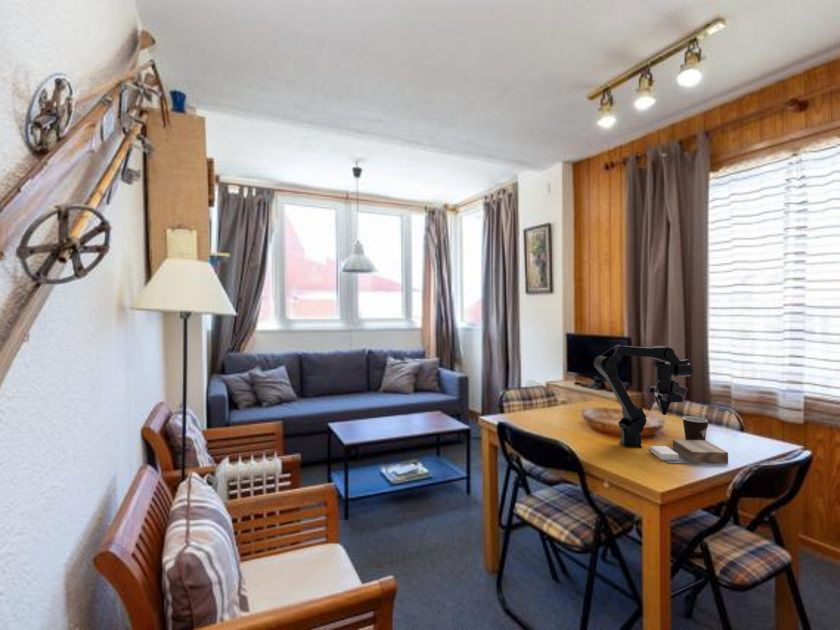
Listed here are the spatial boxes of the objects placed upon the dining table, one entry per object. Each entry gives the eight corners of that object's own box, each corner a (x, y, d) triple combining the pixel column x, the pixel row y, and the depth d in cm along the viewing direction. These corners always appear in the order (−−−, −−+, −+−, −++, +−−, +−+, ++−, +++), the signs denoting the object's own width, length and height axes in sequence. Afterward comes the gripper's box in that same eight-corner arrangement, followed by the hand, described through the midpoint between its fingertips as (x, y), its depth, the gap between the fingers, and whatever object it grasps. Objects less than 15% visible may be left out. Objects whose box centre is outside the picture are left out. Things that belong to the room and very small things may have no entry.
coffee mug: (690, 447, 168) (690, 422, 168) (678, 440, 176) (678, 416, 176) (720, 447, 167) (720, 422, 167) (706, 440, 176) (706, 416, 176)
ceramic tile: (678, 454, 154) (678, 459, 154) (666, 446, 163) (666, 451, 163) (661, 454, 154) (661, 459, 154) (650, 445, 163) (650, 451, 163)
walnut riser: (692, 463, 151) (692, 452, 151) (672, 449, 165) (672, 439, 165) (728, 463, 150) (728, 452, 150) (705, 450, 164) (705, 440, 164)
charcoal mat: (667, 463, 151) (667, 462, 151) (649, 449, 166) (649, 448, 166) (700, 464, 150) (700, 463, 150) (678, 449, 165) (678, 448, 165)
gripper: (697, 381, 161) (697, 421, 162) (673, 373, 180) (673, 409, 180) (667, 381, 163) (667, 421, 163) (645, 373, 181) (646, 409, 181)
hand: (664, 414), depth 172 cm, fingers closed
